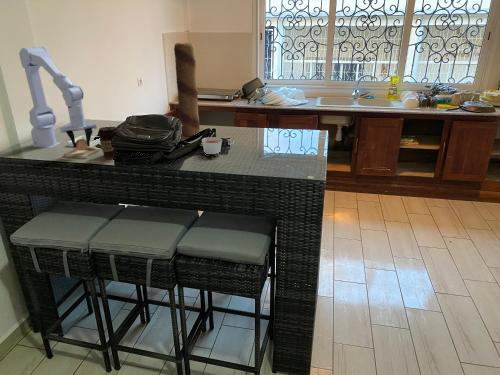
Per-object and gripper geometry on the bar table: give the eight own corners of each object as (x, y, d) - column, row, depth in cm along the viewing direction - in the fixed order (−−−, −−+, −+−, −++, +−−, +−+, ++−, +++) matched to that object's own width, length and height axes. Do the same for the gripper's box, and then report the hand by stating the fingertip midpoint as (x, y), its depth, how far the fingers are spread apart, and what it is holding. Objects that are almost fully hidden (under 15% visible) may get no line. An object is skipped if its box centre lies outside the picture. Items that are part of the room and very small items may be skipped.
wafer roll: (175, 134, 204) (169, 42, 185) (189, 130, 212) (184, 41, 193) (189, 137, 198) (185, 44, 180) (203, 133, 206) (200, 43, 188)
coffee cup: (115, 161, 166) (111, 131, 161) (97, 159, 167) (92, 130, 162) (125, 154, 174) (121, 126, 168) (108, 153, 175) (104, 124, 170)
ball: (74, 151, 171) (71, 140, 169) (81, 147, 175) (79, 137, 173) (83, 152, 170) (81, 141, 168) (90, 148, 174) (88, 138, 172)
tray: (64, 157, 169) (63, 154, 169) (79, 149, 179) (79, 146, 179) (86, 159, 167) (86, 156, 167) (101, 151, 177) (100, 148, 176)
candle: (211, 158, 171) (211, 144, 168) (198, 153, 177) (197, 140, 174) (226, 153, 177) (226, 140, 175) (212, 149, 183) (212, 136, 180)
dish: (68, 147, 182) (67, 141, 181) (82, 140, 192) (82, 135, 191) (90, 149, 180) (89, 143, 179) (103, 141, 190) (102, 137, 189)
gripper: (59, 119, 159) (65, 151, 165) (96, 115, 167) (100, 146, 172) (56, 116, 165) (62, 147, 170) (92, 112, 172) (97, 142, 178)
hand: (81, 146), depth 172 cm, fingers closed on ball, 5 cm apart
